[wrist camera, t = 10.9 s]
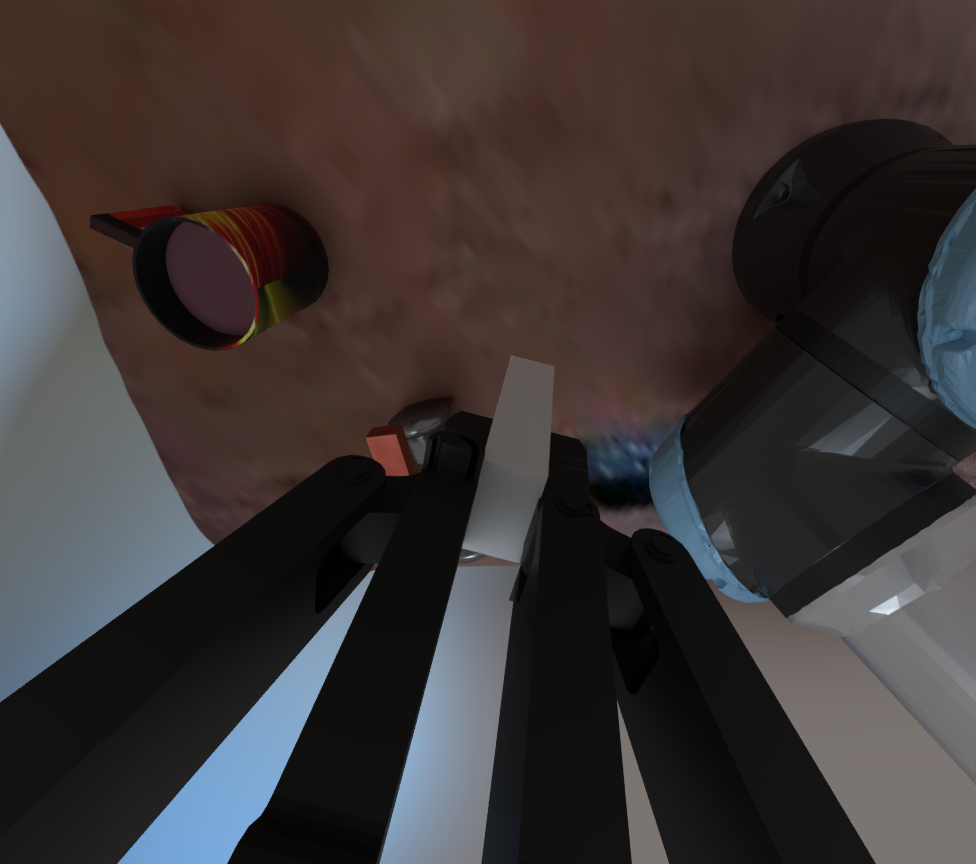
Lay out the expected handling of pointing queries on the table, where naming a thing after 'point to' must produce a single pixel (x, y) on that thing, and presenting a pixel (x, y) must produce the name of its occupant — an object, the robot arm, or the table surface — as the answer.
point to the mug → (221, 268)
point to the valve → (418, 429)
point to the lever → (391, 450)
